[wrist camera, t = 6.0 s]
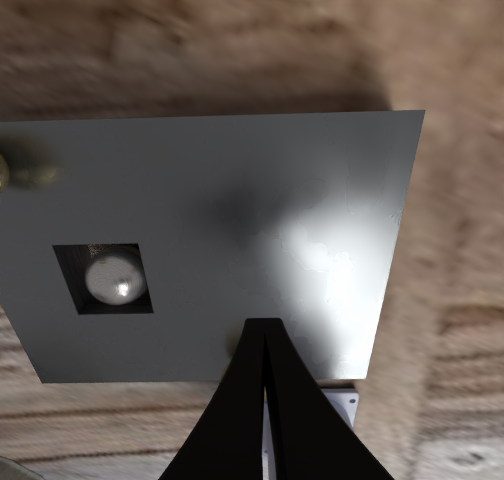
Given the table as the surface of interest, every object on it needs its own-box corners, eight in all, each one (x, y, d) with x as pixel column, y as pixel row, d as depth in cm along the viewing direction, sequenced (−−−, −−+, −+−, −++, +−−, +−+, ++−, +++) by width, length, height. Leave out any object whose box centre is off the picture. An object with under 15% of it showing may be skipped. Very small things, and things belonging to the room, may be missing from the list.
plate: (351, 349, 18) (365, 378, 16) (66, 354, 19) (42, 383, 16) (394, 115, 12) (425, 109, 10) (-32, 127, 13) (-93, 124, 10)
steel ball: (164, 285, 16) (141, 317, 13) (113, 286, 16) (78, 317, 13) (156, 237, 15) (130, 257, 12) (102, 238, 15) (61, 259, 12)
